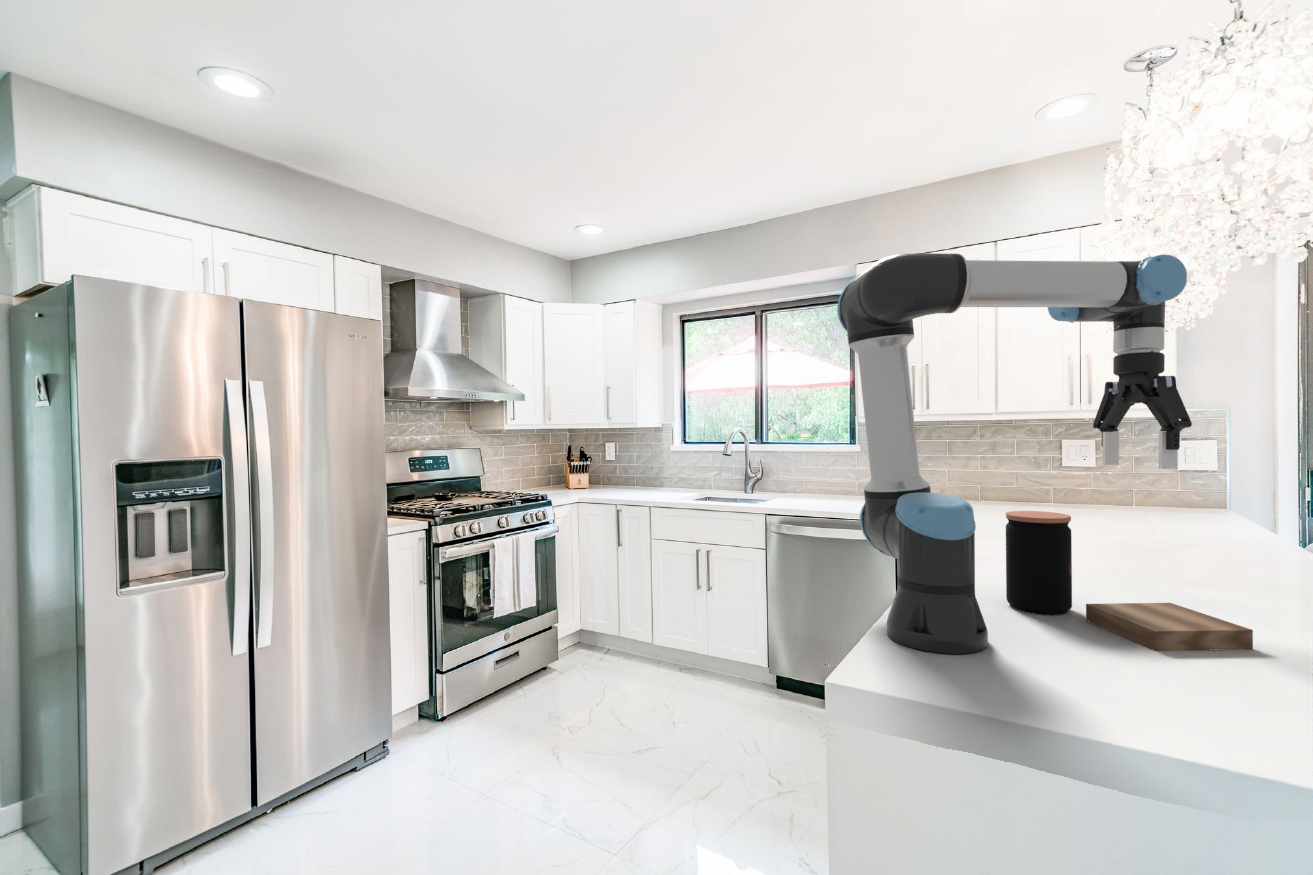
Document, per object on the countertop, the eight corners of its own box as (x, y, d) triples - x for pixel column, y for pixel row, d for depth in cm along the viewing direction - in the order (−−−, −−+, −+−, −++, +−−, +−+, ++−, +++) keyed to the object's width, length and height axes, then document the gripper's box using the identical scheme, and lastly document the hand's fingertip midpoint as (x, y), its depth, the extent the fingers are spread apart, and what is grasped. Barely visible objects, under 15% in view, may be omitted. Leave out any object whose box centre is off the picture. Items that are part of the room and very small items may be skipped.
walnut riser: (1155, 650, 93) (1155, 631, 93) (1086, 620, 108) (1086, 603, 108) (1252, 649, 93) (1252, 630, 93) (1170, 619, 108) (1170, 602, 108)
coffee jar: (1085, 616, 111) (1084, 517, 111) (1026, 616, 111) (1025, 518, 111) (1049, 600, 121) (1048, 510, 121) (995, 600, 122) (994, 511, 122)
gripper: (1220, 343, 101) (1218, 470, 101) (1109, 361, 126) (1108, 463, 126) (1174, 343, 101) (1173, 470, 101) (1073, 361, 126) (1072, 463, 126)
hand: (1137, 466), depth 114 cm, fingers open, 13 cm apart
